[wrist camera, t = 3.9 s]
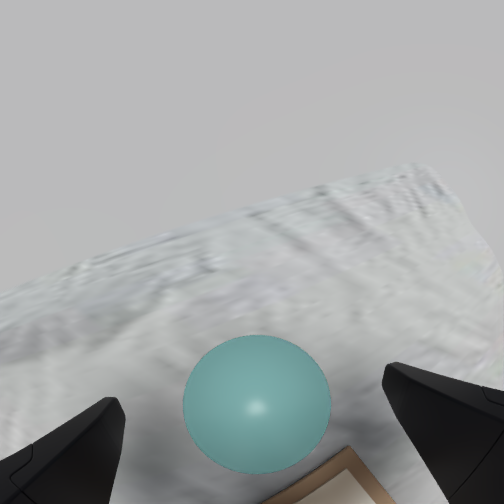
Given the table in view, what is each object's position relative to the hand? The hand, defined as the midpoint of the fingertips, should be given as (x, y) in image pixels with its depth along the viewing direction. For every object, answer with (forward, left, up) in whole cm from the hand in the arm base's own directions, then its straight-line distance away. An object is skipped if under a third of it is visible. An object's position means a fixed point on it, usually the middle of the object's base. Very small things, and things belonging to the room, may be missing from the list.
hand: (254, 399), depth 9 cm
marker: (0, 0, -8) cm, 8 cm away
